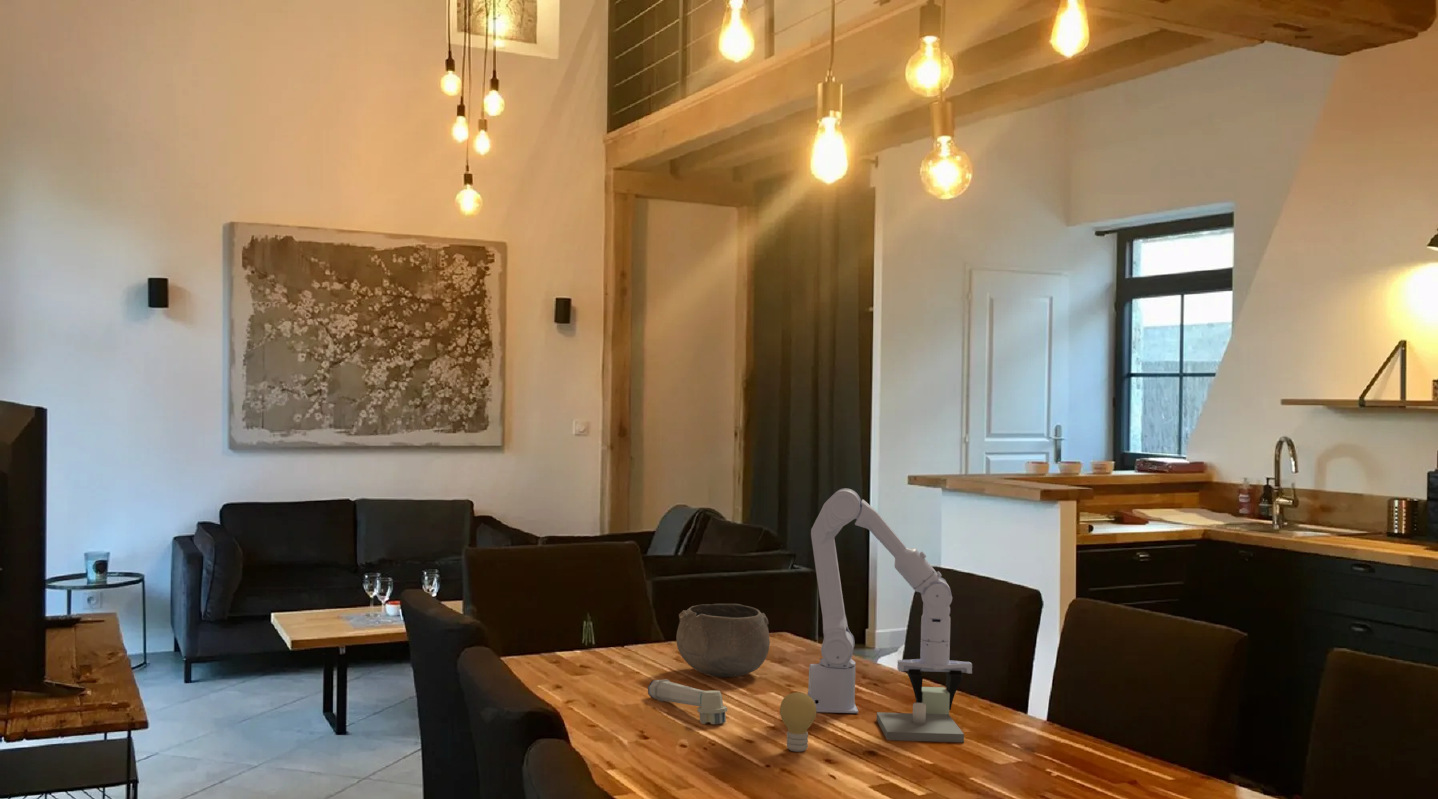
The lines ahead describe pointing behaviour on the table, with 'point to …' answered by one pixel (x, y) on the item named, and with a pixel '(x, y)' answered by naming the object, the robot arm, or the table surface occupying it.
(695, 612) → the clay pot
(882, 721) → the post board
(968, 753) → the table surface
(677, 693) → the toothbrush head
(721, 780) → the table surface
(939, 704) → the pale green cube
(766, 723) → the table surface
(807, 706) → the light bulb
